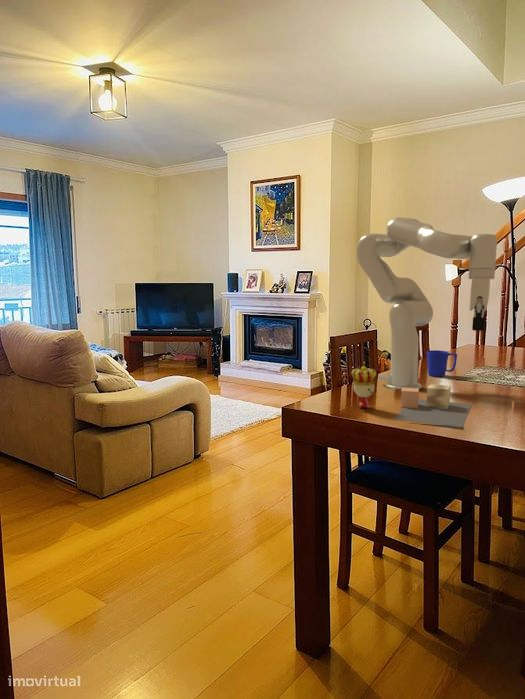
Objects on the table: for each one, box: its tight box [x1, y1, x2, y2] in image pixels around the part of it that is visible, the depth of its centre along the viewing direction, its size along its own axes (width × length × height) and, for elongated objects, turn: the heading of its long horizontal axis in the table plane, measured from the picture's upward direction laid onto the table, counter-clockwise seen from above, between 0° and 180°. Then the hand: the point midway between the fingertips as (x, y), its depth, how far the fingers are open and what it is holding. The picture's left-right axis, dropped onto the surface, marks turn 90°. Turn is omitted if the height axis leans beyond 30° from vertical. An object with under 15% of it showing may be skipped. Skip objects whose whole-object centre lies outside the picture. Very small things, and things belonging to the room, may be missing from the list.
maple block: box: [426, 384, 451, 409], centre depth 156 cm, size 6×6×6 cm
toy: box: [351, 360, 377, 410], centre depth 154 cm, size 7×7×15 cm
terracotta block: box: [400, 388, 420, 408], centre depth 157 cm, size 5×5×5 cm
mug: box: [426, 349, 458, 378], centre depth 209 cm, size 8×12×10 cm
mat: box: [392, 398, 473, 430], centre depth 150 cm, size 18×28×1 cm, turn 153°
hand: (478, 329), depth 162 cm, fingers open, 9 cm apart
